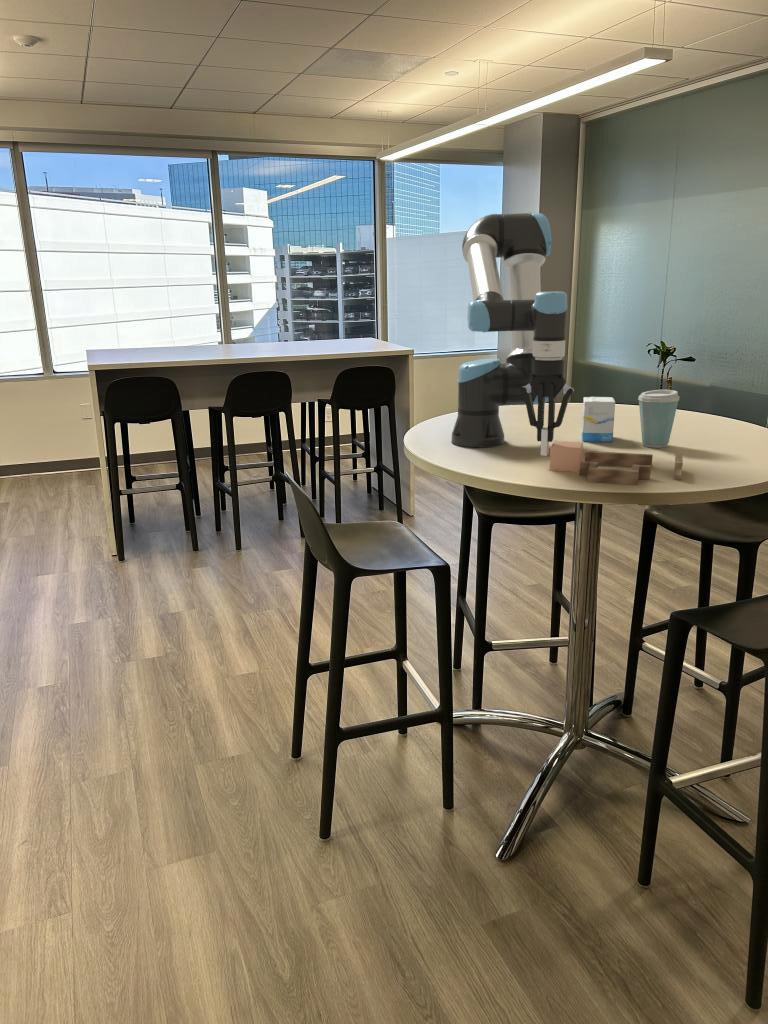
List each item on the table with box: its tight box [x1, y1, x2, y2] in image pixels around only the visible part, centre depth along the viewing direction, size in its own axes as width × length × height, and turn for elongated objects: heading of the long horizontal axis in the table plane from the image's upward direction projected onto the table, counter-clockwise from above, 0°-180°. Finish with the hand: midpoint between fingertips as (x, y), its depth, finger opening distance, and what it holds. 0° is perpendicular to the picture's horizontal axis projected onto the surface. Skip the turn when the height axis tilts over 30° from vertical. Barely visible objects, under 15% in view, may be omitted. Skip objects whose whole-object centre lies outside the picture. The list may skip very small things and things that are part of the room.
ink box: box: [580, 396, 616, 443], centre depth 215 cm, size 8×8×12 cm
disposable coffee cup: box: [637, 389, 680, 449], centre depth 205 cm, size 11×11×15 cm
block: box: [549, 440, 584, 473], centre depth 185 cm, size 7×7×6 cm
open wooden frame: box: [578, 450, 684, 486], centre depth 178 cm, size 23×18×4 cm
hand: (544, 454), depth 187 cm, fingers closed
